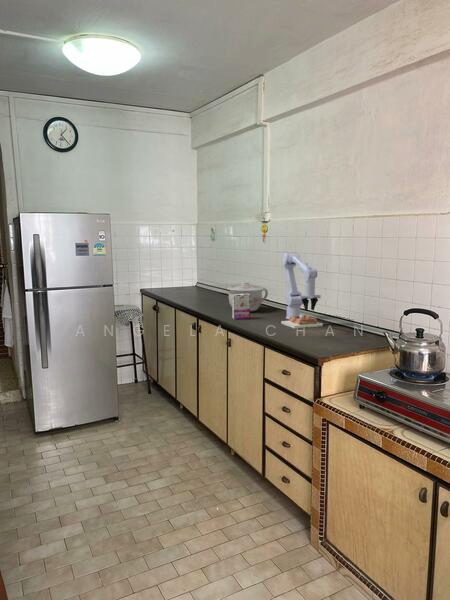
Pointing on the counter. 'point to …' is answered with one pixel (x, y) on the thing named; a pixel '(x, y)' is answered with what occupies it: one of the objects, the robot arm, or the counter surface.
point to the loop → (303, 320)
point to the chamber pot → (249, 289)
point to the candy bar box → (240, 306)
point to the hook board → (300, 325)
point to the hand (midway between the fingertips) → (309, 310)
